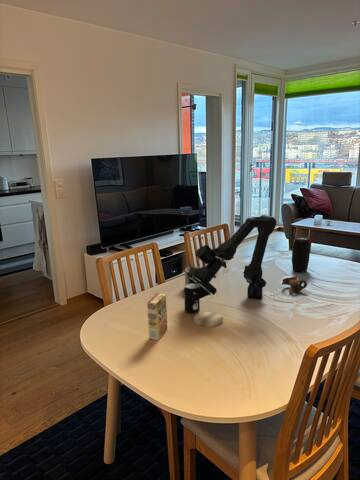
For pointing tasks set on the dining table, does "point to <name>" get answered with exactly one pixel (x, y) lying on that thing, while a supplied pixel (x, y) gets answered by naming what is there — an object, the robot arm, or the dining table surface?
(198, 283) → the coffee mug
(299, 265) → the portable speaker
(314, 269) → the dining table surface
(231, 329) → the dining table surface
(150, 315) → the candy box
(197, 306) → the beverage can
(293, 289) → the pottery mug
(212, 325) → the disc
